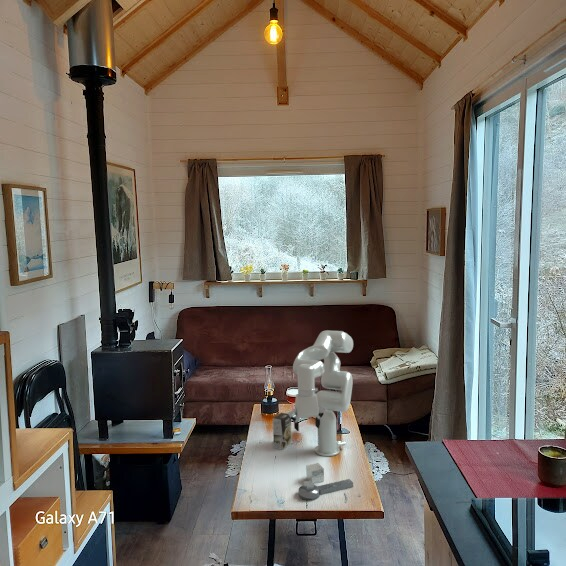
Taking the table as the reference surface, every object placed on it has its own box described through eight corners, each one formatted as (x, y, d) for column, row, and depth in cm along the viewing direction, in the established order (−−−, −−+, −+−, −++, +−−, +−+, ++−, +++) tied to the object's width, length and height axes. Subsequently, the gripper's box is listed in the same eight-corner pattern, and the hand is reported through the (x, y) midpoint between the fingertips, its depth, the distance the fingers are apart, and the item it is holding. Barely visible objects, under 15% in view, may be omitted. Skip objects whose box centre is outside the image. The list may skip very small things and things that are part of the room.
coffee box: (283, 450, 272) (283, 419, 270) (273, 447, 276) (272, 417, 274) (292, 443, 280) (291, 413, 278) (281, 441, 283) (281, 412, 281)
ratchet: (346, 480, 239) (346, 468, 239) (356, 489, 231) (356, 477, 230) (295, 492, 230) (295, 480, 230) (303, 502, 222) (303, 490, 221)
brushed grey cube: (318, 475, 245) (318, 463, 244) (324, 481, 239) (323, 468, 238) (306, 478, 243) (306, 465, 242) (311, 484, 237) (311, 471, 236)
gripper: (321, 387, 243) (322, 423, 245) (285, 391, 238) (286, 428, 240) (327, 392, 236) (328, 429, 238) (290, 396, 231) (291, 434, 233)
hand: (307, 428), depth 239 cm, fingers open, 9 cm apart
